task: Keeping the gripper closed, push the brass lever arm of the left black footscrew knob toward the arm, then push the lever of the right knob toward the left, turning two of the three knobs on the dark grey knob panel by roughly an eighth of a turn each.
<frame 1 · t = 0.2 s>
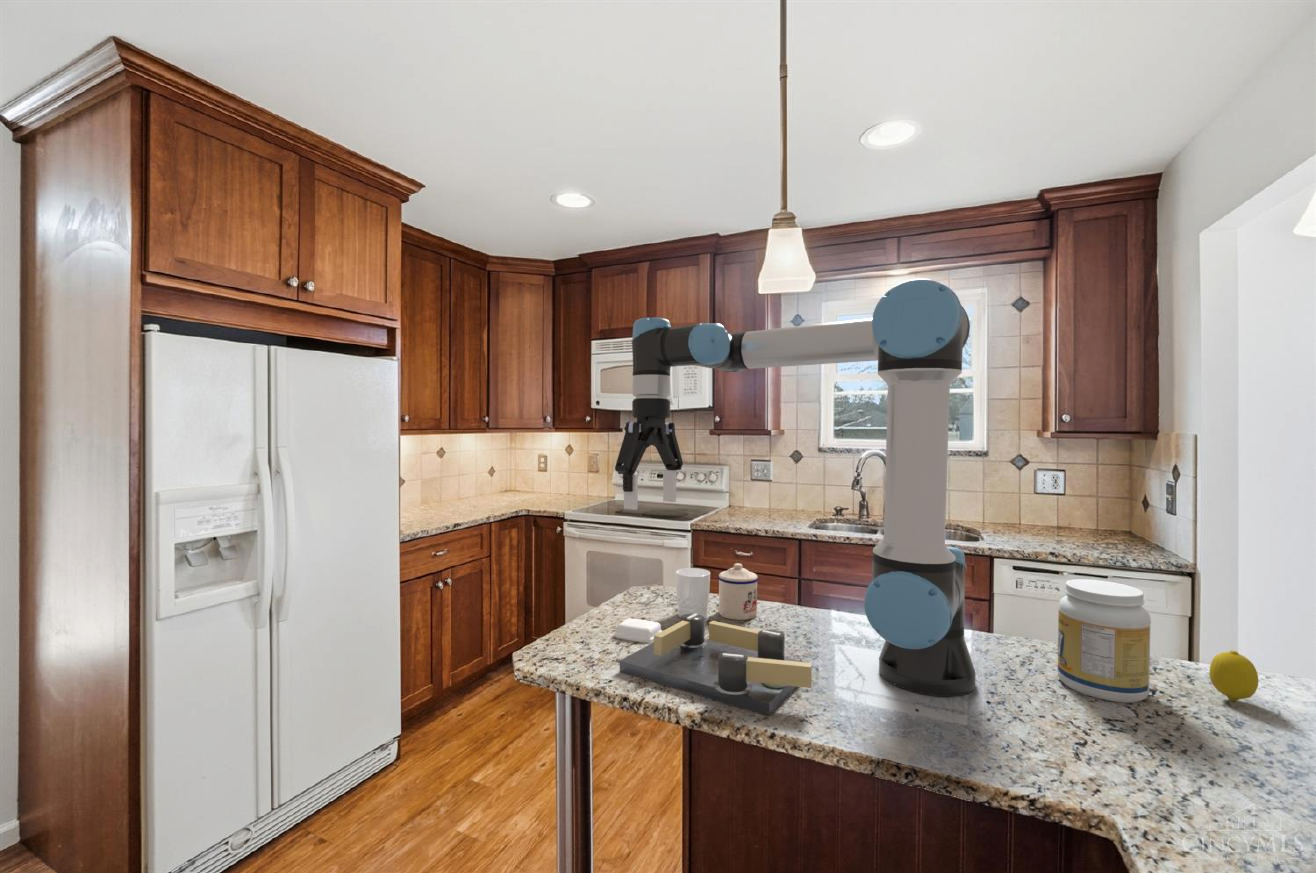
hand: (651, 505, 116), 27 cm above the countertop, fingers open, 13 cm apart
teacup with lid: (739, 613, 136), on the countertop
supplement tub: (1101, 689, 97), on the countertop
knob B: (679, 635, 108), point 5 cm above the countertop, hinge at 0.0°
knob A: (745, 640, 106), point 5 cm above the countertop, hinge at 0.0°
lemon: (1232, 702, 93), on the countertop
soap: (638, 637, 121), on the countertop
white cup: (692, 616, 134), on the countertop
knob C: (764, 672, 92), point 5 cm above the countertop, hinge at 0.0°
green domed button: (774, 682, 94), resting on dark grey knob panel
dark grey knob panel: (714, 673, 103), on the countertop
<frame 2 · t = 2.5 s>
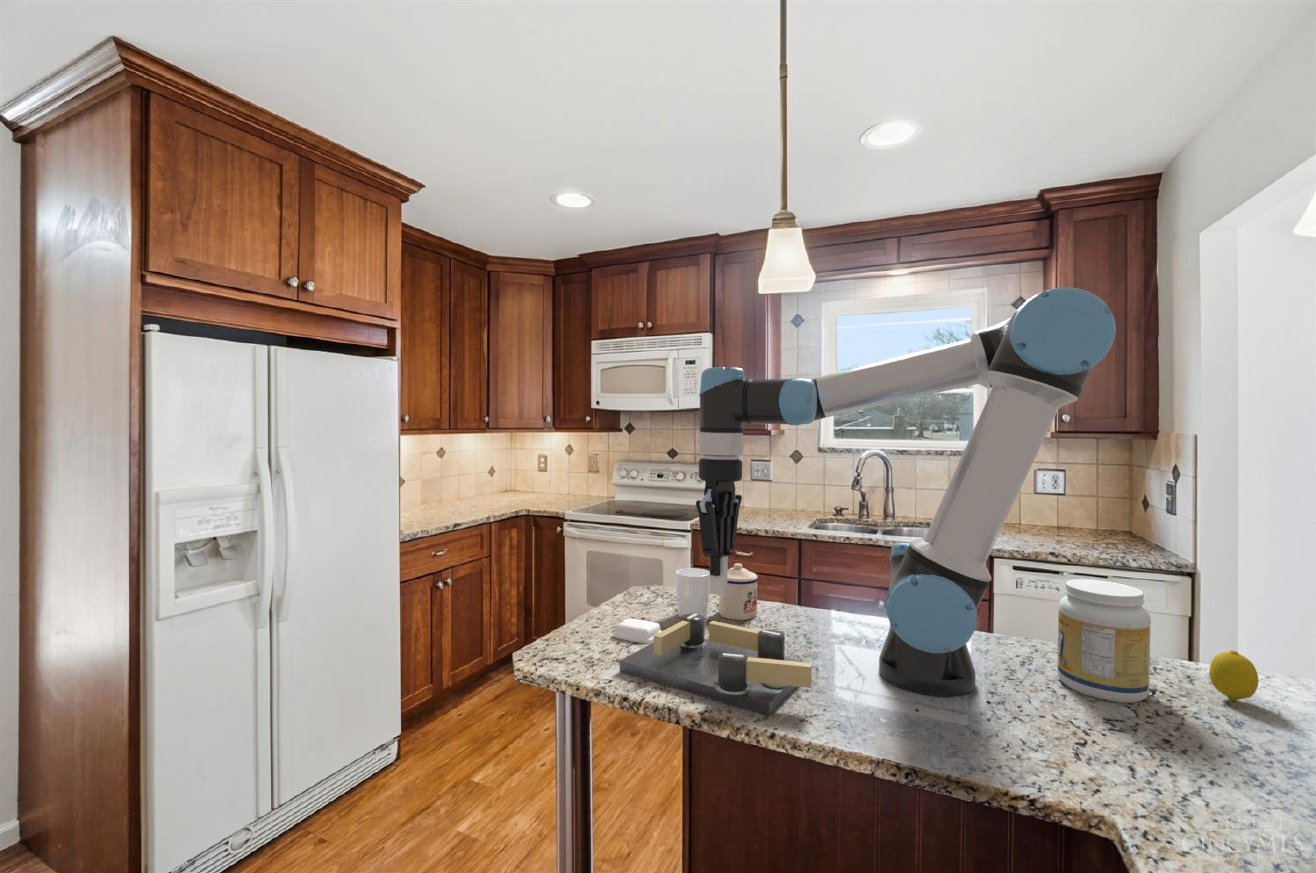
hand: (718, 592, 102), 14 cm above the countertop, fingers closed
nothing on the countertop moved.
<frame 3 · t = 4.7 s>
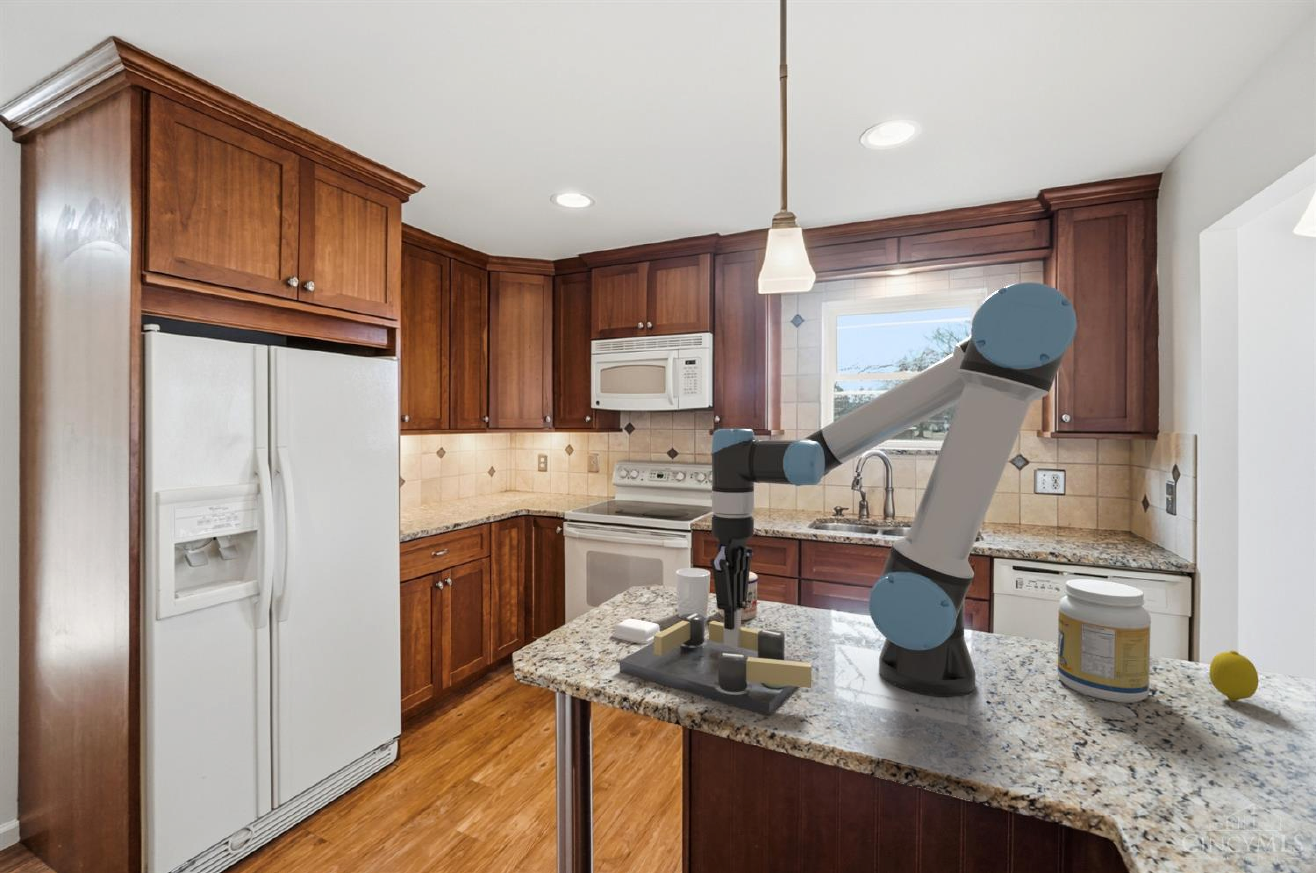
hand: (732, 645, 106), 4 cm above the countertop, fingers closed
knob A: (745, 640, 106), point 5 cm above the countertop, hinge at 0.0°, touching gripper
everything else where it was.
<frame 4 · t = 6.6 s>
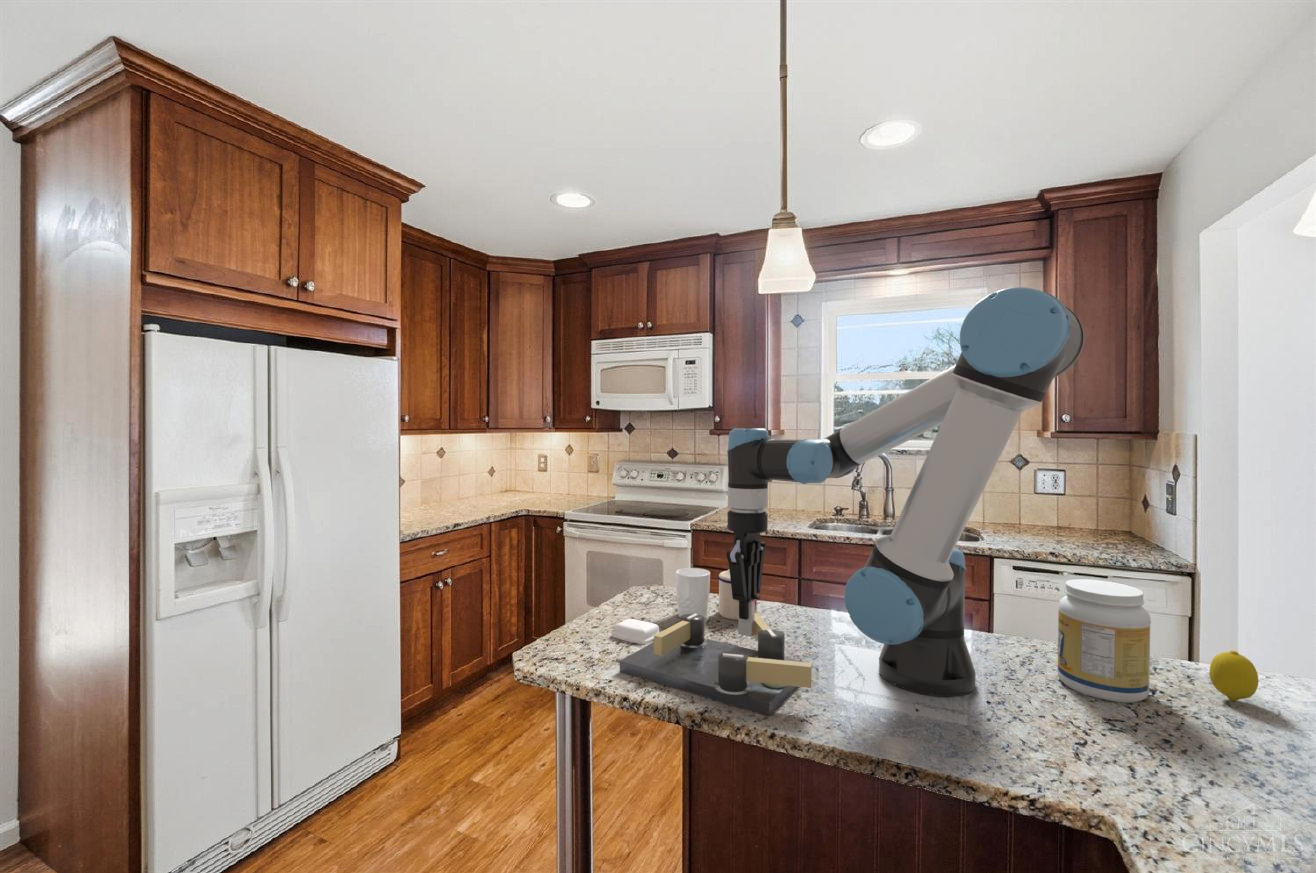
hand: (746, 634, 111), 4 cm above the countertop, fingers closed
knob A: (763, 635, 108), point 5 cm above the countertop, hinge at -50.1°, touching gripper
everything else where it was.
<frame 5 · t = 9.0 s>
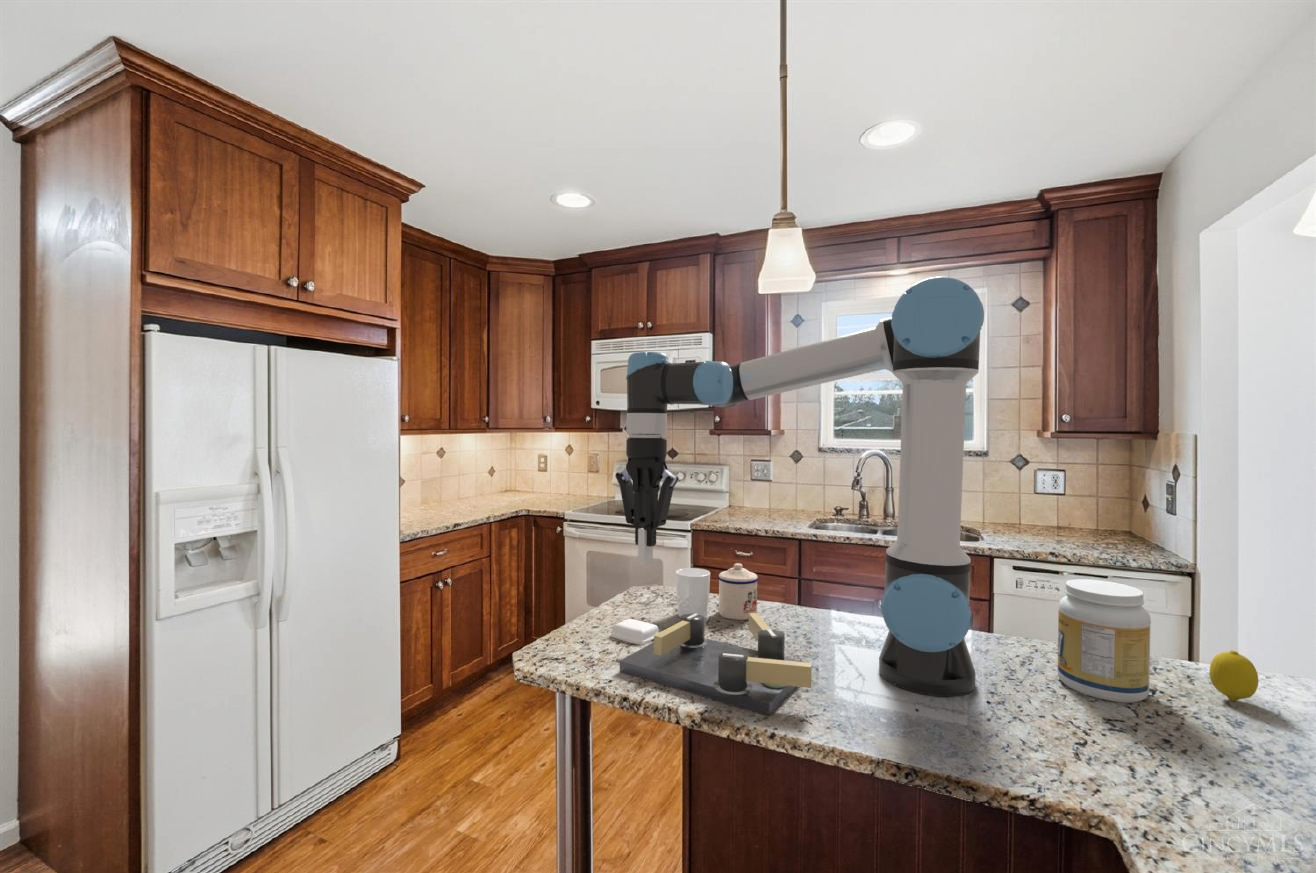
hand: (645, 562, 109), 18 cm above the countertop, fingers closed
knob A: (763, 635, 108), point 5 cm above the countertop, hinge at -50.1°
everything else where it was.
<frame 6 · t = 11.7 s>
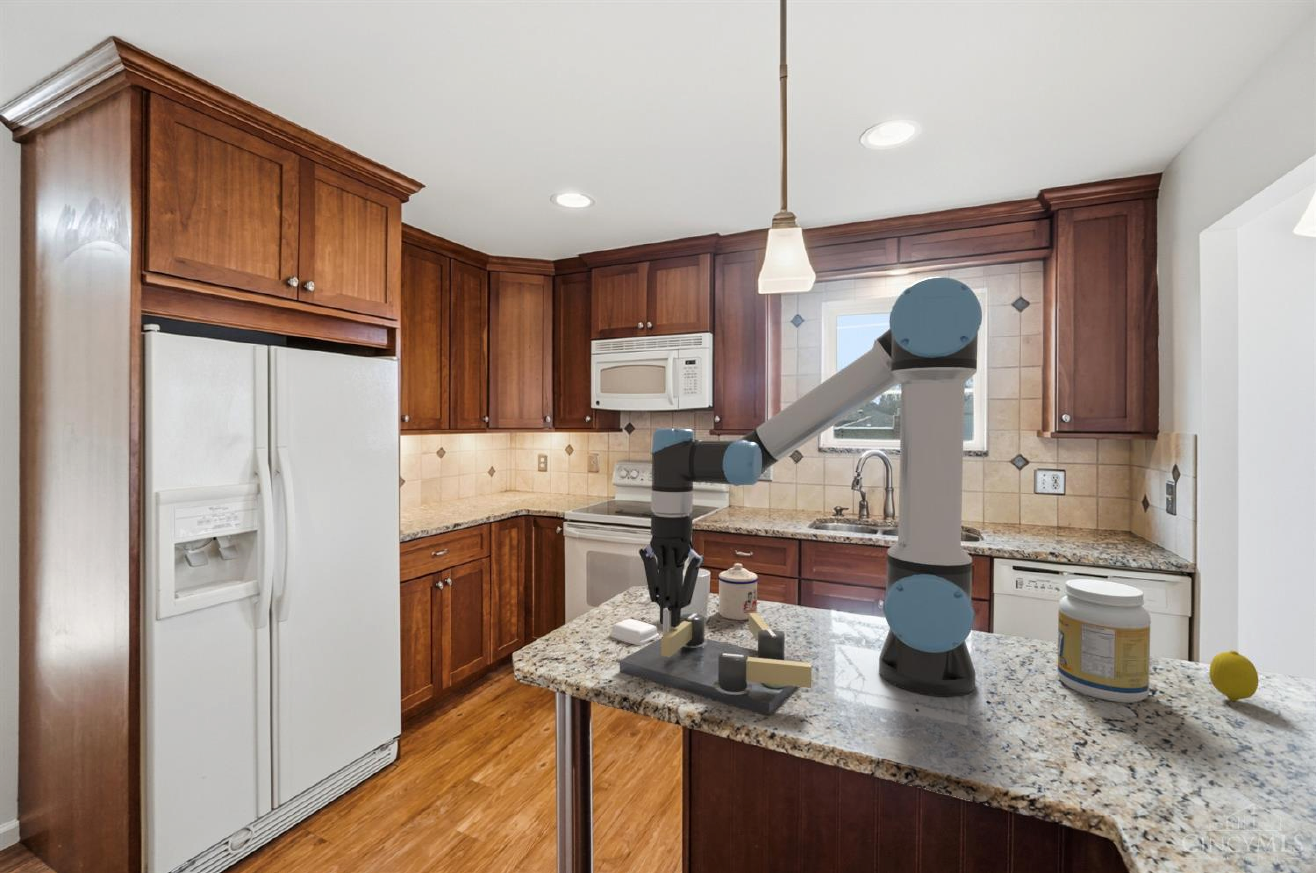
hand: (669, 643, 106), 4 cm above the countertop, fingers closed
knob B: (682, 636, 107), point 5 cm above the countertop, hinge at 7.6°, touching gripper
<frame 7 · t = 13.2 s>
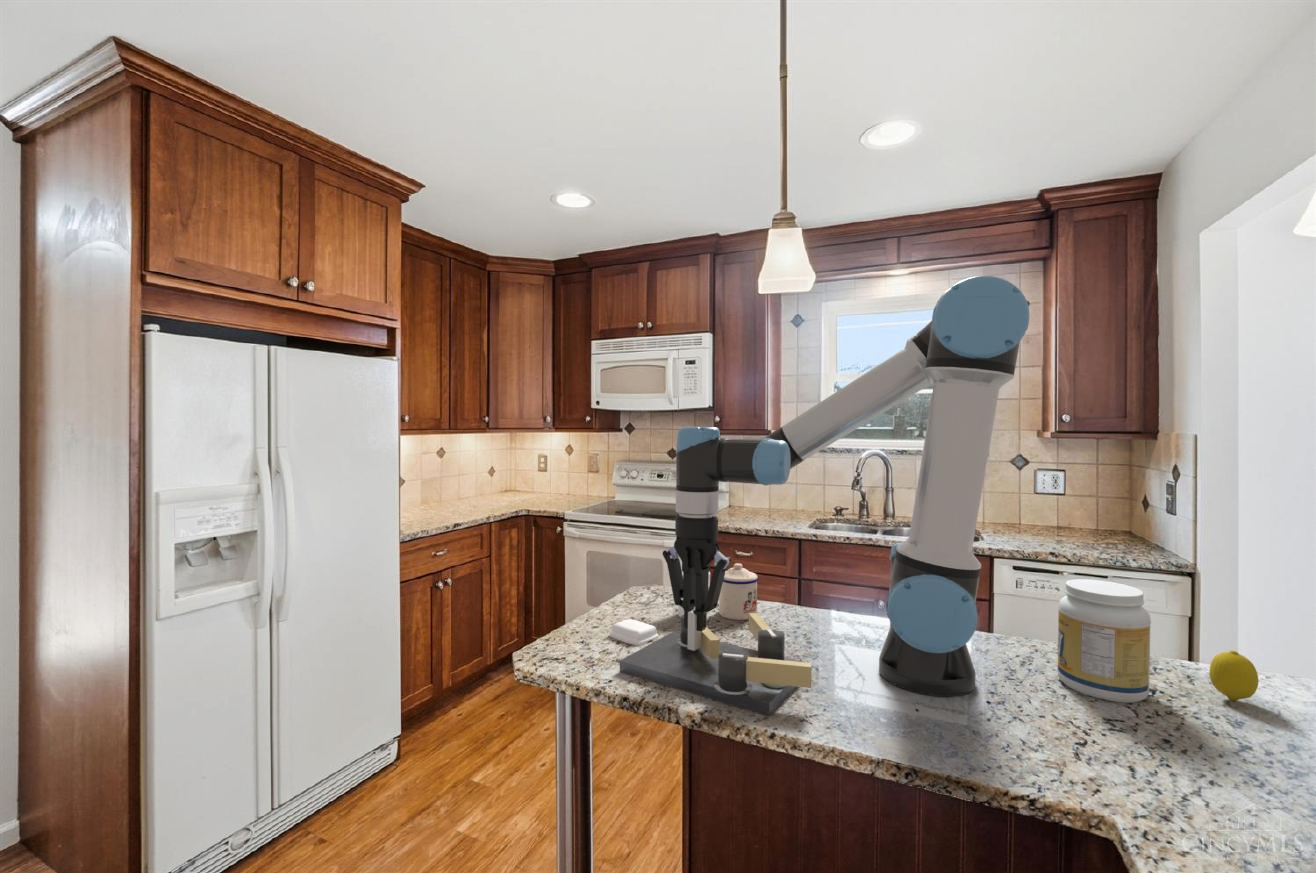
hand: (694, 647, 103), 4 cm above the countertop, fingers closed
knob B: (701, 636, 107), point 5 cm above the countertop, hinge at 49.1°, touching gripper
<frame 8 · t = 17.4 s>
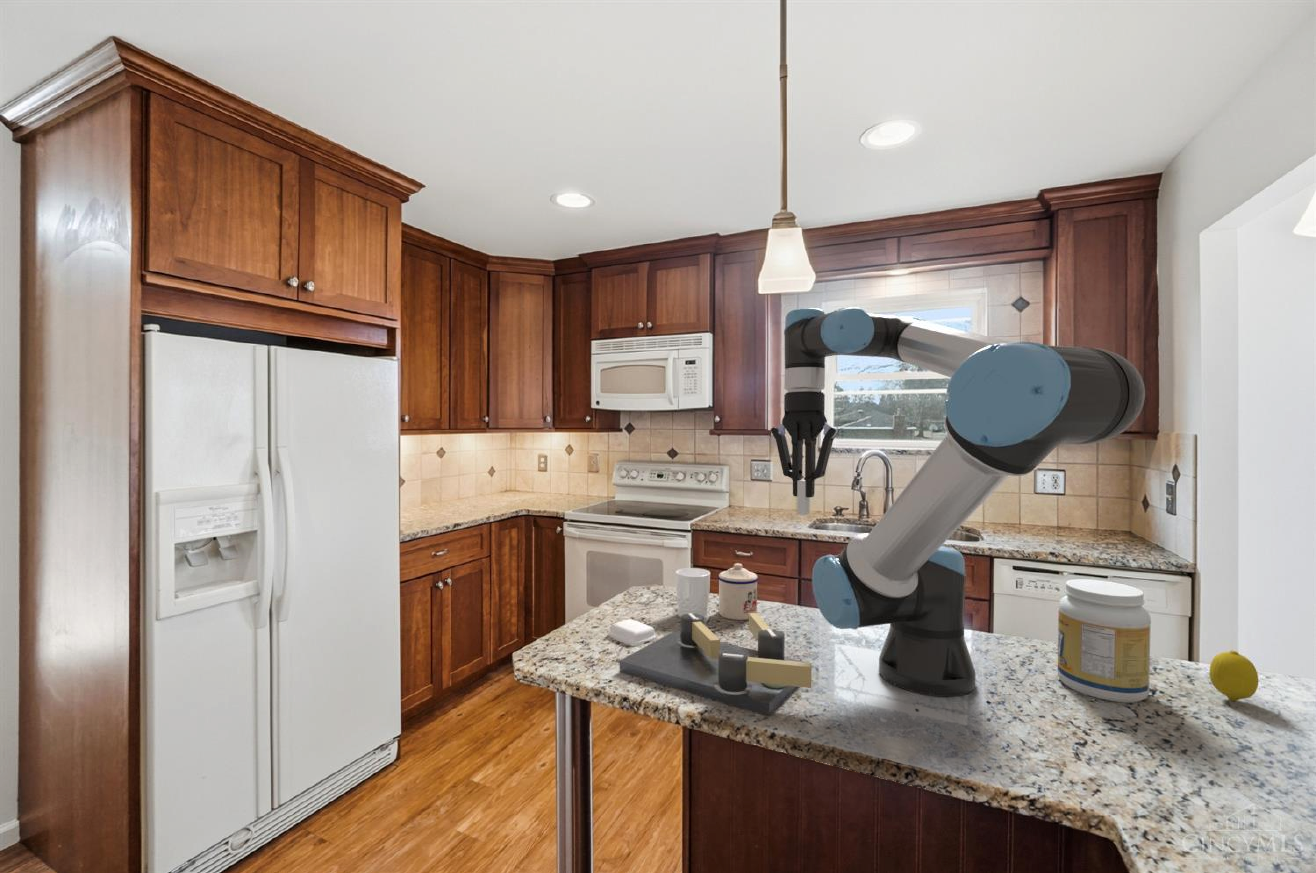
hand: (803, 513, 113), 26 cm above the countertop, fingers closed
knob B: (701, 636, 107), point 5 cm above the countertop, hinge at 49.2°
at the end: knob A at -50° (first picture: +0°); knob B at +49° (first picture: +0°); knob C at +0° (first picture: +0°) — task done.
